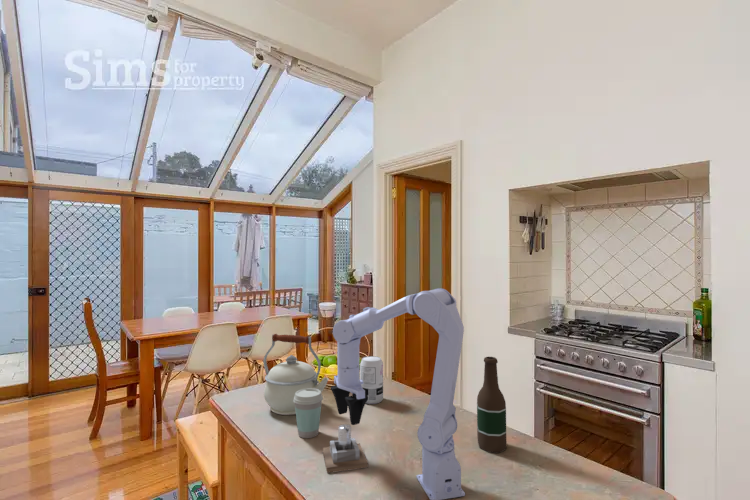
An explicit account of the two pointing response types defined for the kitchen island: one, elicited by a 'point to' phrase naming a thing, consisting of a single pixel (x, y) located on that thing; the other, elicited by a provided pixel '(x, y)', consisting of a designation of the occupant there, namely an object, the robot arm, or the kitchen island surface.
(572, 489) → the kitchen island surface
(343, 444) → the shaft
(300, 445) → the kitchen island surface
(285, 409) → the kettle
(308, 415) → the coffee cup
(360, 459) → the block
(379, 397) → the supplement can
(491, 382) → the beer bottle
